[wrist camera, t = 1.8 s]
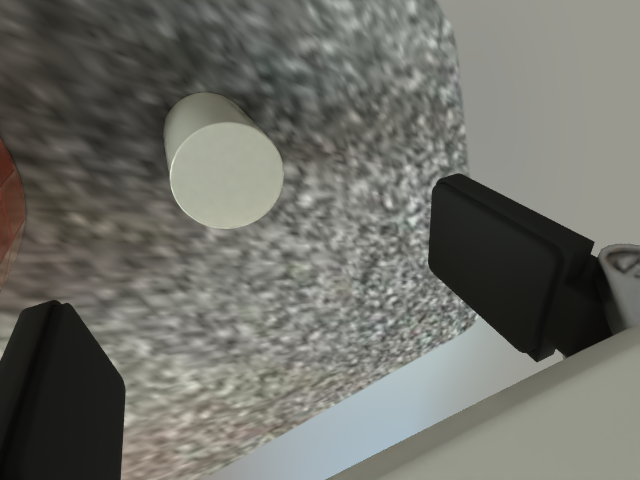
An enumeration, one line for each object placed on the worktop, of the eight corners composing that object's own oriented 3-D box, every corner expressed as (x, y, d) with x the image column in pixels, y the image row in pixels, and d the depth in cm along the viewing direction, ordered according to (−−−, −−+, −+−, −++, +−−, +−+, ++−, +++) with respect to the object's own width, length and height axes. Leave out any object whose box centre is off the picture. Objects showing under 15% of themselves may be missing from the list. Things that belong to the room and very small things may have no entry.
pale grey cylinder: (149, 102, 17) (150, 138, 13) (240, 83, 18) (273, 110, 14) (180, 186, 20) (191, 242, 15) (258, 165, 21) (292, 211, 16)
